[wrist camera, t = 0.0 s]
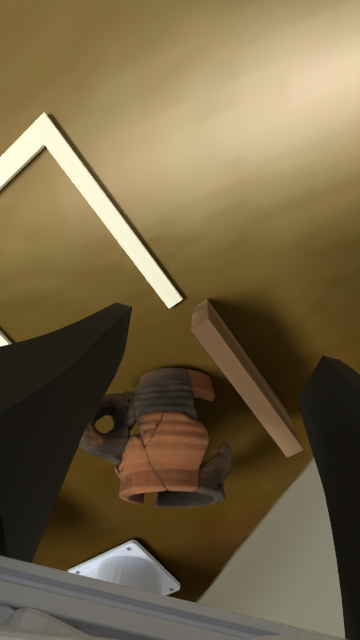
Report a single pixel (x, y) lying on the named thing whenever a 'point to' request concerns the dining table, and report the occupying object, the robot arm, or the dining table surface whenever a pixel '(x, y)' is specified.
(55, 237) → the dining table surface
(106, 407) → the brown curved piece
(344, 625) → the robot arm
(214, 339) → the walnut screen
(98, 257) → the dining table surface
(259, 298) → the dining table surface
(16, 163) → the bay outline
